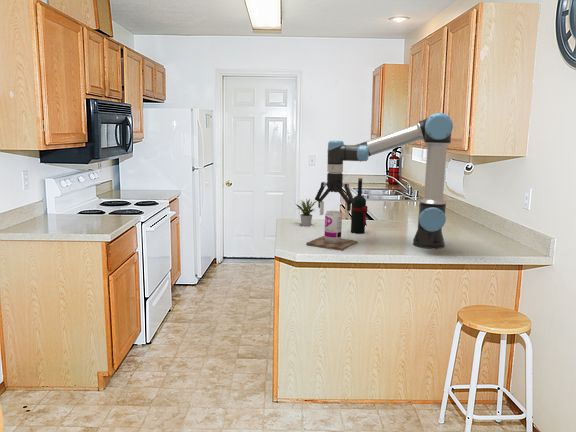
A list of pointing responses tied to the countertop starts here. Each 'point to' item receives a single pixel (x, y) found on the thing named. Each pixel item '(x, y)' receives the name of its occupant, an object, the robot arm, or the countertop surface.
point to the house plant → (306, 213)
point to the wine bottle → (359, 211)
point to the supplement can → (333, 226)
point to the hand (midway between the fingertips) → (334, 216)
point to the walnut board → (336, 246)
